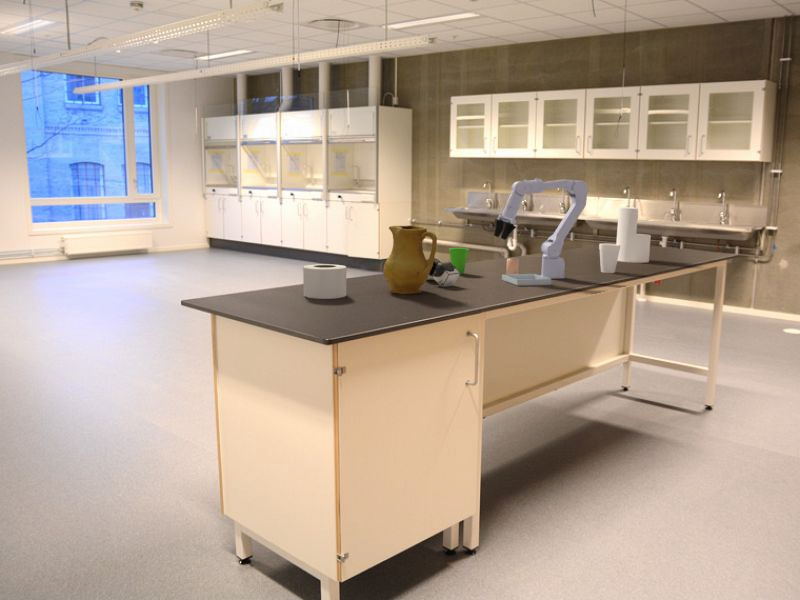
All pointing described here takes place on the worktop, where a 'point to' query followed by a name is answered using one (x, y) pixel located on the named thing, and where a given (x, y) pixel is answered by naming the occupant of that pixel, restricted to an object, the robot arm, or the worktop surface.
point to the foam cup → (608, 257)
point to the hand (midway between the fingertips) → (499, 237)
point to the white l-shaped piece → (631, 237)
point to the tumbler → (512, 266)
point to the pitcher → (408, 259)
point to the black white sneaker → (443, 273)
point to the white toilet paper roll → (324, 281)
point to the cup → (459, 258)
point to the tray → (526, 279)
